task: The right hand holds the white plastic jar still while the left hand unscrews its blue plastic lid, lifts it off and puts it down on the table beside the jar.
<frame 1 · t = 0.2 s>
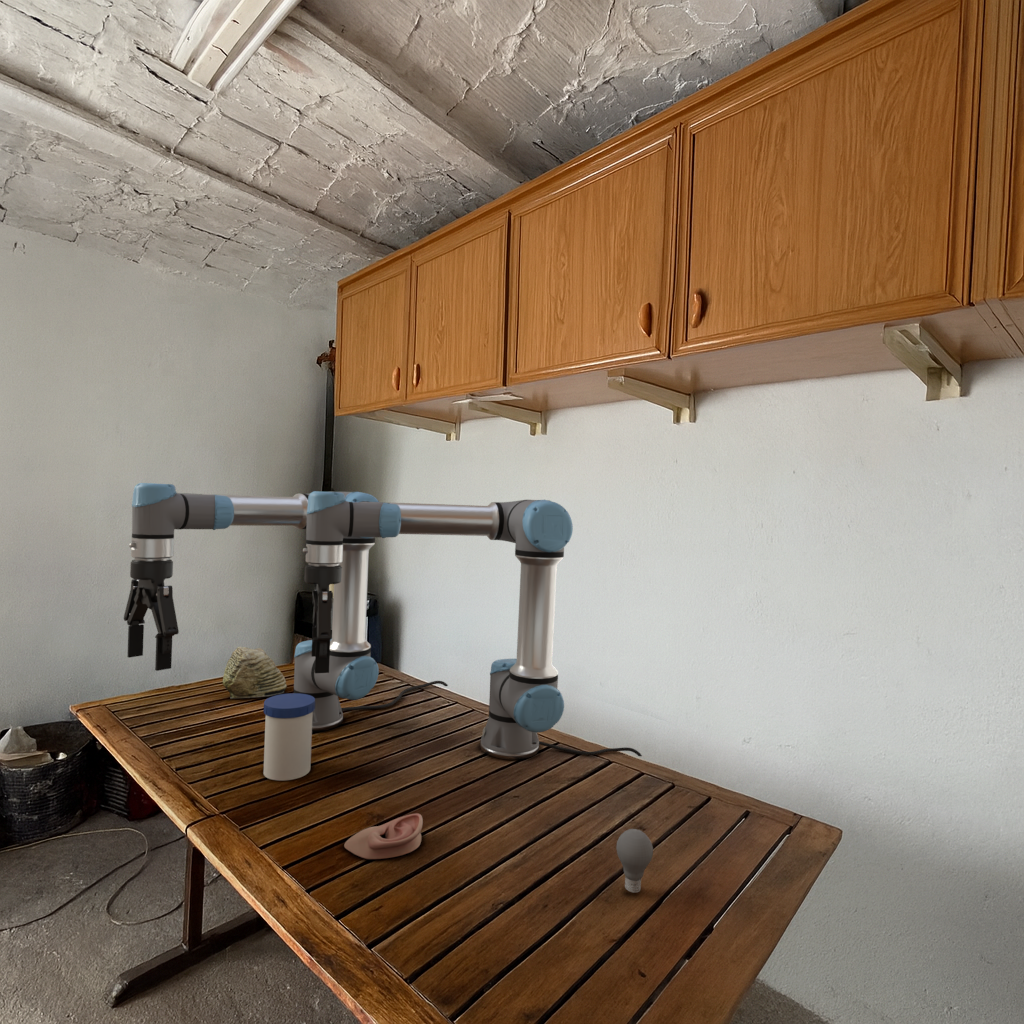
left hand: (148, 662, 129), 28 cm above the table, tool pointing down, fingers open, 13 cm apart
right hand: (319, 664, 134), 28 cm above the table, tool pointing down, fingers open, 13 cm apart
lid: (289, 702, 145), point 16 cm above the table, screwed on, not yet turned
jar: (287, 770, 145), on the table
light bulb: (632, 891, 106), on the table
fossil: (254, 694, 198), on the table
anatomical model: (383, 844, 117), on the table
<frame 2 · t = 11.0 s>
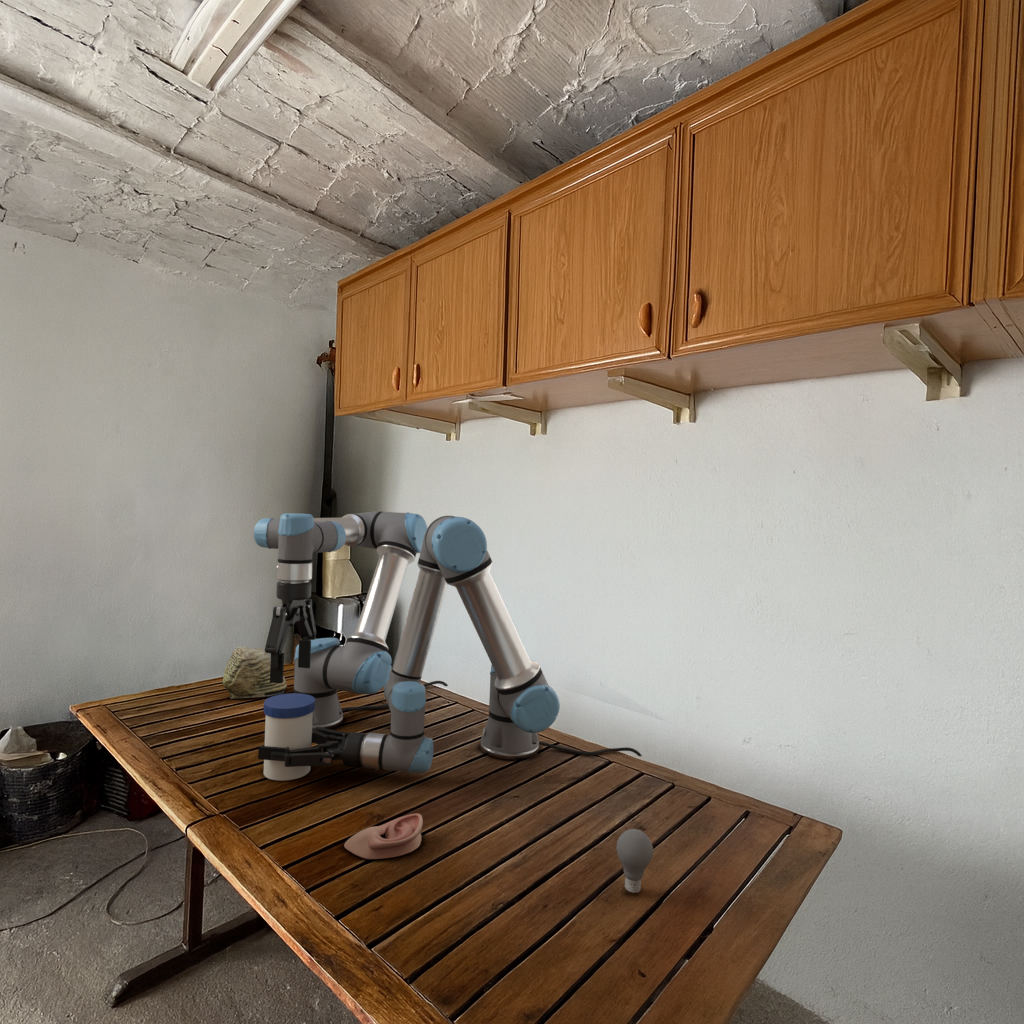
left hand: (290, 674, 145), 22 cm above the table, tool pointing down, fingers open, 12 cm apart
right hand: (270, 743, 146), 6 cm above the table, tool horizontal, fingers closed on jar, 10 cm apart
jar: (287, 770, 145), on the table, touching right hand
everything else where it was.
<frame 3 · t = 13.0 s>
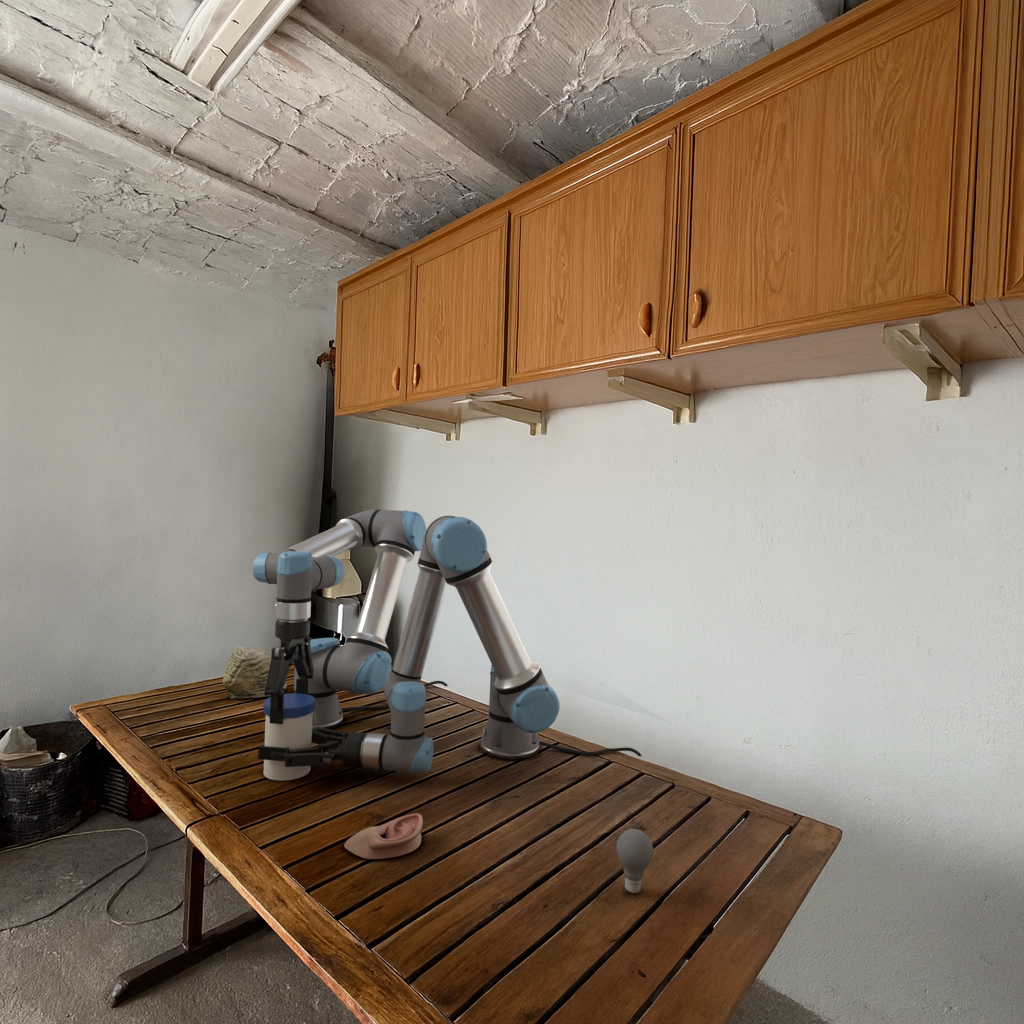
left hand: (289, 714, 145), 13 cm above the table, tool pointing down, fingers closed on lid, 11 cm apart
right hand: (270, 743, 146), 6 cm above the table, tool horizontal, fingers closed on jar, 10 cm apart
lid: (289, 702, 145), point 16 cm above the table, screwed on, not yet turned, touching left hand
jar: (287, 770, 145), on the table, touching right hand
everything else where it was.
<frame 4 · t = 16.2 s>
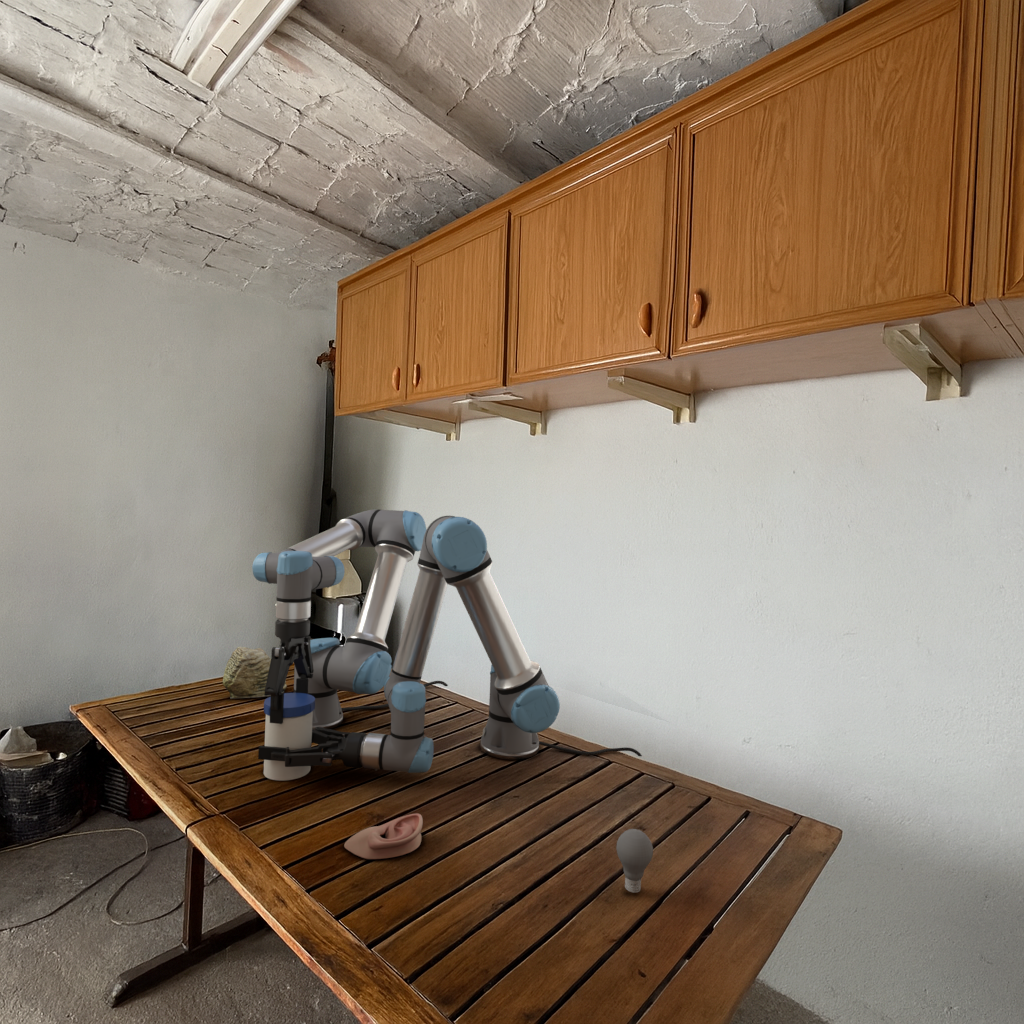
left hand: (289, 714, 145), 13 cm above the table, tool pointing down, fingers closed on lid, 11 cm apart
right hand: (270, 743, 146), 6 cm above the table, tool horizontal, fingers closed on jar, 10 cm apart
lid: (289, 701, 145), point 16 cm above the table, turned 94° so far, risen 0.1 cm, still on its thread, touching left hand
jar: (287, 770, 145), on the table, touching right hand
everything else where it was.
when the left hand's fingers open (0 cm above the table, at t = 29.5 s): lid drops 1 cm, point 2 cm above the table.
when the right hand's fingers open (6 cm above the table, at t = 30.5 s): jar stays where it is, on the table.
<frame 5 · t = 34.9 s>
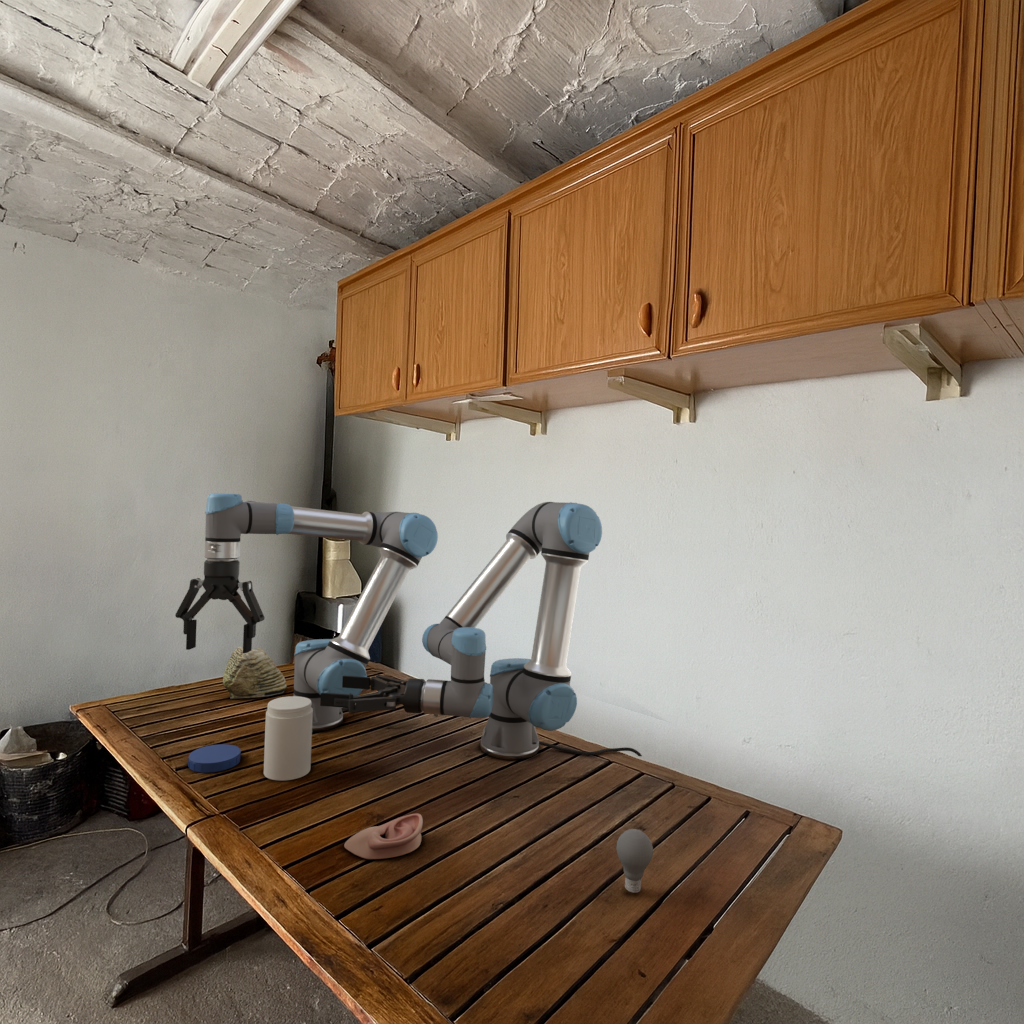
left hand: (218, 650, 148), 26 cm above the table, tool pointing down, fingers open, 13 cm apart
right hand: (332, 689, 144), 19 cm above the table, tool horizontal, fingers open, 13 cm apart
lid: (215, 754, 148), point 2 cm above the table, off its thread
jar: (287, 770, 145), on the table
everything else where it was.
at the end: lid came off its thread; lid point 1.8 cm above the table; the left hand is holding nothing; the right hand is holding nothing; jar tilted 0°; jar moved 0.0 cm from its start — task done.
